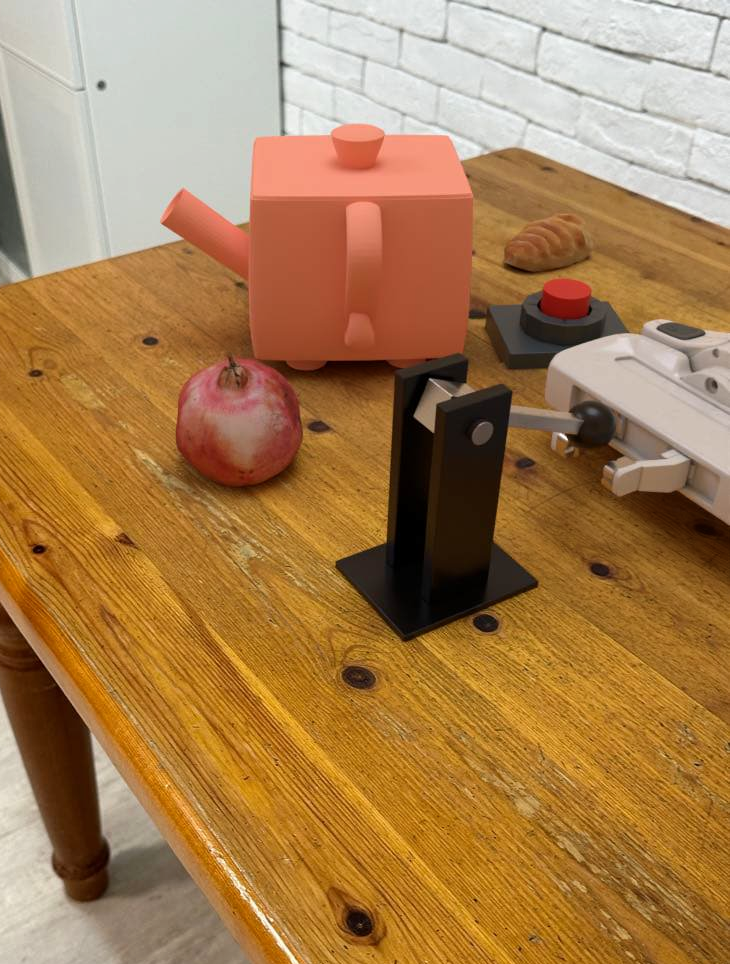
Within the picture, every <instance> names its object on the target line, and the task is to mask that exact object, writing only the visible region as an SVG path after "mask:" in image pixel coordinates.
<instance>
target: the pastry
mask: <svg viewBox="0 0 730 964" xmlns="http://www.w3.org/2000/svg"><path fill="white" fill-rule="evenodd" d="M593 250H594V242H593V240H592V235H591V233H590V231H589V230H588V225H587V223H586V222H585V220H584V219H582V218H581V217H580V215H579V216H578V215H576V214H574V213H572V212H567V213H560V212H555V213H554V214H553V215H552V216H549V217H545V218H543V219H537V220H533V221H531V222H528V223H527V224H526V225H524V227H523V228H522V229H520V231H518V232H517V233H516V234H514V236H513V237H512V238H511V239H510V240H509V241H508V243H507V244H506V245H505V247H504V249H503V252H504V253H503V254H504V255H503V256H504V257H503V263H504V264H508V265H510V266H512V267H516V268H517V269H518V268H519V269H522V270H525V271H528V272H532V273H535V272H543V271H547V270H551V271H553V270H554V271H555V270H557V269H561V268H566V267H568V266H572V265H574V263H580V262H583V261H585V259H586V258H587V257H588V256H589V255H591V253H592V252H593Z"/></svg>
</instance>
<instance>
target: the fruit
mask: <svg viewBox="0 0 730 964" xmlns="http://www.w3.org/2000/svg"><path fill="white" fill-rule="evenodd" d="M226 354H227V357H226V358H223V359H222V360H219V361H216V362H213V363H211V364H209V365H207V366H205V367H204V368H202V369H200V370H197V371H195V372H194V373H193V374H192V375H191V376H190V377H189V378H188V379H187V380H186V382H185V383H184V385H182V387H181V389H180V391H179V393H178V400H177V417H176V424H175V443H176V444H175V445H176V448H177V449H178V451H179V453H180V454H181V455H182V457H183V458H184V460H185V461H186V462H187V463H188V464H189V465H191V466H192V467H193V468H194V469H195V470H196V471H197V472H198V473H200V474H201V475H202V476H204V477H206V478H208V480H210V481H212V482H213V483H216V484H218V485H220V486H224V487H232V488H239V487H246V486H247V487H249V486H256V485H259V484H261V483H263V482H265V481H267V480H269V479H271V478H273V477H275V476H276V475H278V474H280V473H281V472H283V471H284V470H285V469H286V468H287V467H288V466H289V465H290V464H291V463H292V462H293V461H294V460H295V458H296V457H297V454H298V452H299V450H300V448H301V445H302V443H303V439H304V430H303V426H302V425H303V424H302V419H301V410H300V401H299V397H298V396H297V394H296V391H295V389H294V388H293V386H292V385H291V384H290V382H289V381H288V380H287V378H285V377H284V376H283V374H282V373H280V372H279V371H278V370H277V369H275V368H273V367H272V366H269V365H267V364H265V363H263V362H261V361H259V360H258V359H255V358H252V357H248V356H247V357H246V356H233V355H232V353H231V351H227V352H226Z"/></svg>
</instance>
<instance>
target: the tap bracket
mask: <svg viewBox="0 0 730 964" xmlns="http://www.w3.org/2000/svg"><path fill="white" fill-rule="evenodd" d="M469 361H470V360H469V358H468V357H466V356H465V355H463V353H462V354H460V353H455V354H452V355H448V356H445V357H441V358H434V359H432V360H428V361H426V362H424V363H421V364H417V365H414V366H411V367H407V368H400V369H397V370H395V371H394V384H393V402H392V403H393V404H392V421H391V422H392V423H391V443H390V463H389V481H388V502H387V503H388V504H387V522H386V541H385V542H383V543H381V544H378V545H376V546H373V547H370V548H367V549H364V550H362V551H359V552H357V553H353V554H351V555H347V556H345V557H343V558H340V559H338V560H335V562H334V567H335V568H336V569H337V571H338V572H339V573H340V574H341V575H342V577H344V579H346V581H347V582H348V583H349V584H350V585H351V586H352V588H353V589H355V590H356V592H357V593H358V594H359V595H360V596H361V597H362V598H363V600H365V601H366V603H367V604H368V605H369V606H370V608H372V610H374V611H375V613H377V615H378V616H379V617H380V618H381V619H382V620H383V621H384V622H385V623H386V624H387V626H388V627H389V628H390V629H391V630H392V631H393V632H394V633H395V634H396V635H397V636H398V638H399V639H400V640H401V641H402V642H403V643H407V642H409V641H411V640H414V639H416V638H418V637H421V636H423V635H425V634H428V633H431V632H433V631H435V630H438V629H440V628H442V627H445V626H447V625H449V624H452V623H454V622H457V621H459V620H461V619H464V618H466V617H469V616H471V615H473V614H477V613H479V612H482V611H483V610H486V609H488V608H491V607H493V606H496V605H498V604H501V603H504V602H505V601H507V600H510V599H513V598H515V597H517V596H520V595H522V594H524V593H527V592H529V591H531V590H534V589H536V588H538V587H539V580H538V579H537V577H534V576H533V575H532V574H531V573H530V572H529V570H527V569H525V568H524V566H522V565H521V564H520V563H519V562H518V561H516V559H515V558H513V556H511V555H510V554H509V553H508V552H507V551H505V550H504V549H503V548H502V547H501V546H500V545H498V544H497V543H496V542H495V541H494V537H495V536H494V535H495V529H496V521H497V516H498V515H497V513H498V507H499V499H500V492H501V491H500V490H501V484H502V478H503V477H502V476H503V470H504V463H505V461H504V460H505V453H506V447H507V446H506V445H507V437H508V430H509V427H508V424H509V416H510V409H511V405H512V401H513V394H514V393H513V392H514V391H513V389H511V388H510V387H508V386H507V385H505V384H504V383H503V382H502V383H501V382H500V383H498V384H494V385H492V386H488V387H485V388H481V389H478V390H475V392H472V393H469V394H465V395H462V396H459V397H456V398H453V399H449V400H446V401H443V402H440V403H437V404H436V414H435V427H434V433H433V432H431V431H430V430H429V429H428V428H427V427H425V426H424V425H423V424H422V423H420V422H419V421H418V420H417V419H416V418H414V414H415V411H416V409H417V406H418V404H419V402H420V399H421V397H422V394H423V392H424V390H425V387H426V385H427V382H428V380H429V378H431V379H438V380H445V381H452V382H459V383H465V384H467V381H468V369H469Z"/></svg>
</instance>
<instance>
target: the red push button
mask: <svg viewBox="0 0 730 964" xmlns="http://www.w3.org/2000/svg"><path fill="white" fill-rule="evenodd" d="M542 290H543V291H542ZM542 290H541V291H542V298H541V306H540V310H541V312H542V313H544V314H546V315H548V316H550V317H554V318H559V319H564V320H566V319H581V318H583V317H586V316H587V314H588V310H589V304H590V298H591V296H592V293H593V292H592V288H591V286H590V285H589V284H587V283H585V282H583V281H581V280H577V279H572V278H555V279H554V278H553V279H550V280H548V281H546V282H544V284H543V285H542Z"/></svg>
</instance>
